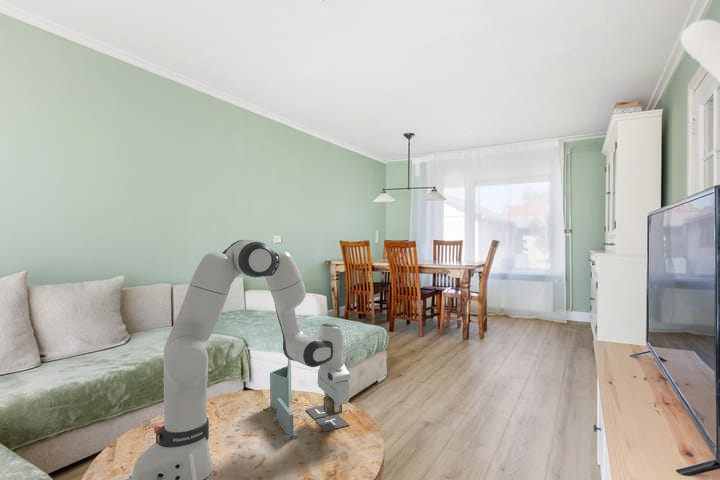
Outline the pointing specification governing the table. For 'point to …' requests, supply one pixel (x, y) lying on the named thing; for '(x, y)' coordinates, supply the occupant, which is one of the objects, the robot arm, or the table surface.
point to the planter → (281, 386)
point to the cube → (330, 407)
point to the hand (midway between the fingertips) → (332, 407)
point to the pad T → (332, 423)
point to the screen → (285, 419)
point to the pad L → (317, 412)
